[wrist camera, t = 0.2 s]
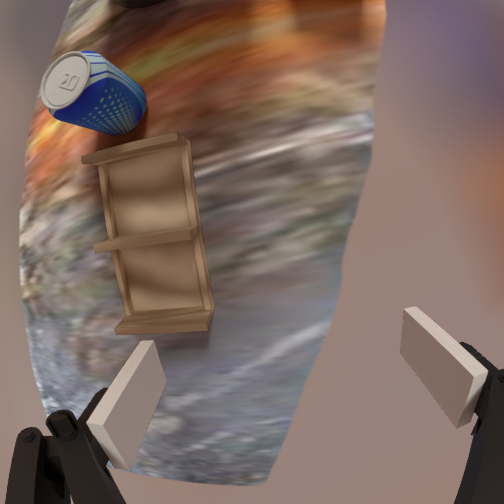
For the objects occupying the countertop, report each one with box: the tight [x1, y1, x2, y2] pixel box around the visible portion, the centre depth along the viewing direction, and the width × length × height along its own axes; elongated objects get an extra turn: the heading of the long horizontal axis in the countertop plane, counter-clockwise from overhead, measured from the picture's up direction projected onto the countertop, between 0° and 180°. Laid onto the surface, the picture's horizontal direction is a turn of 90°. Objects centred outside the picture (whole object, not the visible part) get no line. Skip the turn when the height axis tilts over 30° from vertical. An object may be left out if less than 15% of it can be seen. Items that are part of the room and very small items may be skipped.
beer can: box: [41, 51, 147, 135], centre depth 30 cm, size 8×8×16 cm
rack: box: [81, 132, 215, 335], centre depth 38 cm, size 24×13×7 cm, turn 7°
